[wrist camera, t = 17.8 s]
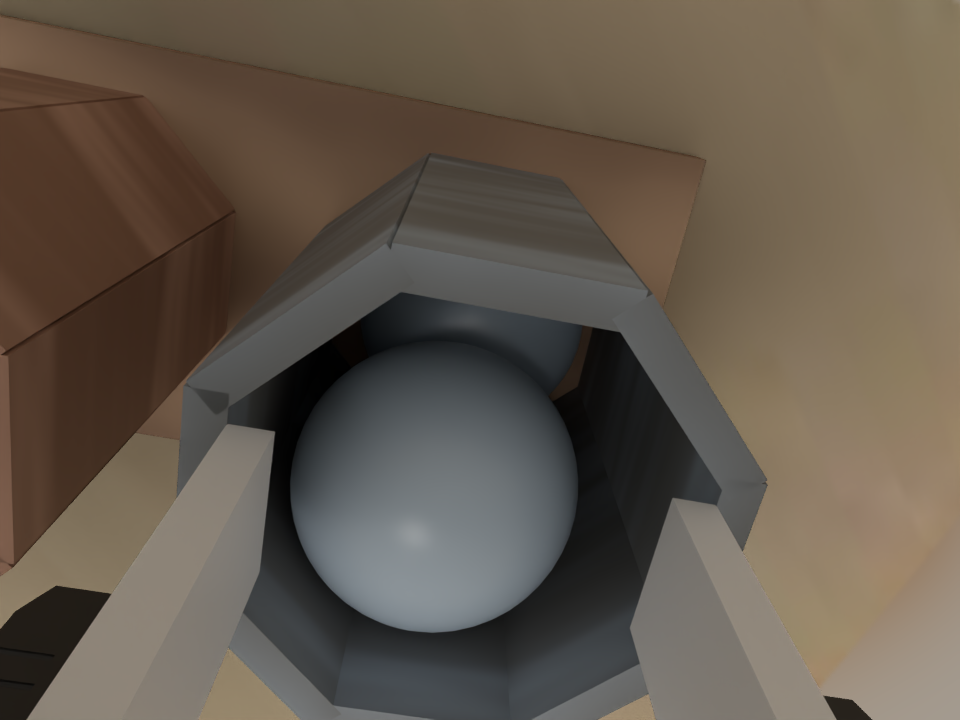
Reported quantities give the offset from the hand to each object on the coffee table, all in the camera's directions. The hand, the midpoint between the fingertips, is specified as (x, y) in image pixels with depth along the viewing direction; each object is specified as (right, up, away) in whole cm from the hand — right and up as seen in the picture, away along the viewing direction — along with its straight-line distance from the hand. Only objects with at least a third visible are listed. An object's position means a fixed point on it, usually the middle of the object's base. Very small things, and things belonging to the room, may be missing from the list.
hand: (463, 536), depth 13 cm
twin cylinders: (-9, +6, +11) cm, 16 cm away
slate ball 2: (0, +3, +4) cm, 5 cm away
